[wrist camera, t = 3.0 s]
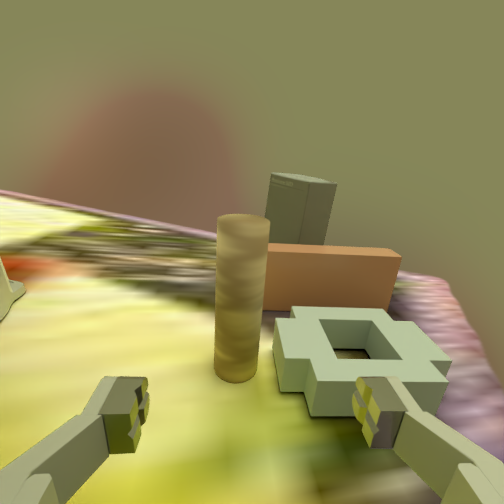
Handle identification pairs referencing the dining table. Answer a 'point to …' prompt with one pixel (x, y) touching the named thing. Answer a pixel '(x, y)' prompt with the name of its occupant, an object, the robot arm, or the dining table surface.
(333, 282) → the wall
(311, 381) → the block
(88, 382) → the dining table surface
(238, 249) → the dowel
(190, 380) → the dining table surface
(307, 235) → the skincare box
